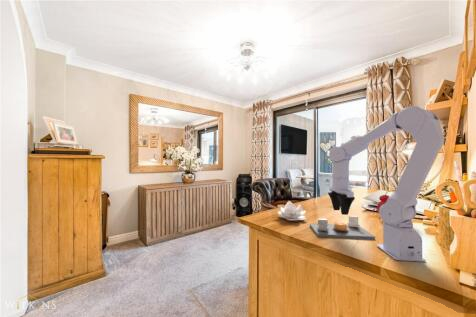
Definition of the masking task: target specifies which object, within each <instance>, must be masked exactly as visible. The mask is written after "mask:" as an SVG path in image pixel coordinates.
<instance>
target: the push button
mask: <svg viewBox="0 0 476 317" xmlns="http://www.w3.org/2000/svg"><path fill="white" fill-rule="evenodd" d="M333 225H334V228H335V229H337V230H340V231H346V230H347V225H348V223H344V222H340V221H338V222H337V221H336V222H334V223H333Z"/></svg>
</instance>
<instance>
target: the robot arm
mask: <svg viewBox="0 0 476 317" xmlns="http://www.w3.org/2000/svg"><path fill="white" fill-rule="evenodd" d="M401 131H403V132H404V131H406V132H408V133H409V134H410V136H411V137H412V138H413V139H414V141H415V142H416V144H415V146H414V148H413V150H412V153H410V154H411V155H410V157H409V159H408V161H407V163H406V165H405V168H404V170H403V172H402V175H401V176H400V179H399V181H398V184H397V185H396V188H395V190H394V191H393V193H392V194H391V195H390V197H389V198H388V200H387V202H386V203H385V204H383V205H382V206H381V207H380V208H379V212H378V215H379V218H380V217H381V218H380V219H381V220H382V243H381V244H380V243H378V244H376V246H377V247H378V248H379V249H381V250H382V251H383V252H385V253H386V255H388V256H390V257H391V258H392V259H394V260H397V261H406V262H407V261H409V262H410V261H411V262H422V263H424V262H425V263H426V262H427V261H426V258H423V239H422V236H421V234H419V232H418V231H416V230H415V229H414V223H413V221H412V220H413V219H414V218H415V217H416V215H417V209H416V208H417V205H418V200H417V199H418V198H417V197H418V195H419V193H420V191H421V189H422V187H423V185H424V183H425V181H426V179H427V177H428V175H429V174H430V171H431V169H432V167H433V165H434V163H435V161H436V159H437V157H438V155H439V153H440V151H441V149H442V147H443V145H444V143H445V141H446V140H445V139H446V138H445V136H444V132H443V129H442V126H441V118H440V117H439V116H438V115H437V114H435V113H434V112H433V111H432V110H429V109H424V108H421V107H419V106H416V105H410V106H406V107H403V108H402V109H401V110H399V111H397V112H394V113H393V114H392V115H391V116H389V117H388V118H387V119H386V120H384V121H383V122H381V123H379V124H378V125H377V126H375V127H374V128H372V129H371V130H369V131H368V132H366V133H365V134H363V135H359V134H358V135H353V136H351V137H350V139H349V140H348V141H346V142H344V143H341V144H340V146H333V147H332V148H331V149H330V150H329V154H328V156H329V159H330V160H331V161H332V167H331V168H332V170H331V171H332V172H331V175H332V179H331V180H332V184H331V185H332V186H331V185H329V191H330V192H327V194H328V197H329V199H330V201H331V205H332V209H333V211H340V213H341V215H342V216H343V215H345V216H346V215H348V216H349V211H350V209H351V206H352V203H353V202H354V201H355V199H356V198H355V193H354V191H353V190H352V188H349V187H350V184H349V182H350V177H349V176H350V171H349V168H350V166H349V165H350V161H351V160H352V159H353V157H354V156H356V155H358V154H360V153H362V152H365V151H366V150H367V149H368V148H369V145H370V144H371V143H373V142H375V141H376V140H379V139H381V138H382V137H385V136H386V135H388V134H391V133H392V132H401Z"/></svg>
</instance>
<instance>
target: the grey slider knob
mask: <svg viewBox="0 0 476 317" xmlns="http://www.w3.org/2000/svg"><path fill="white" fill-rule="evenodd" d="M328 223H329V222H328V219H326V218H318V219H317V224H318V226H317V229H318V230H319V231H329V228H328Z"/></svg>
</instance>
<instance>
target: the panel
mask: <svg viewBox="0 0 476 317" xmlns="http://www.w3.org/2000/svg"><path fill="white" fill-rule="evenodd" d="M317 226H318V223H309V227H310V229H311V230H312V232H313V233H314V234H315V236H316V237H317V238H330V239H331V238H333V239H335V238H336V239H350V240H351V239H352V240H353V239H354V240H357V239H358V240H376V236H375V235H373V234H372V233H370V232H369V231H368V230H366V229H365V228H363V227H361V226H360V227H350V226H349V225H348V224H347V230H346V231H340V230H337V229H335V228H334V224H328V228H329V231H319V230H318V229H317Z"/></svg>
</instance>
